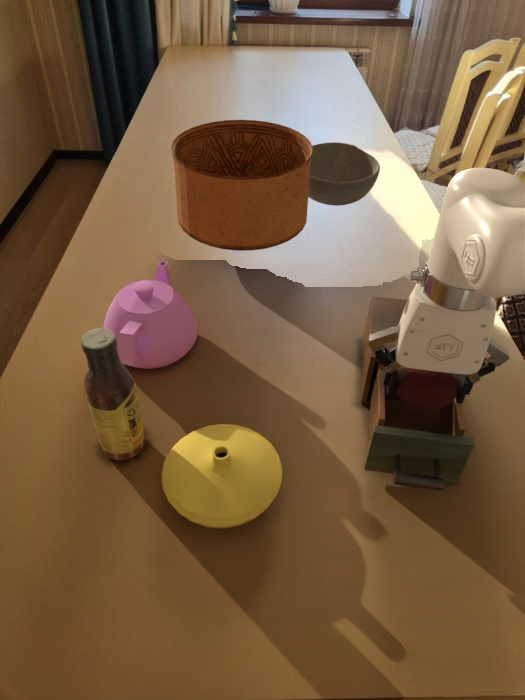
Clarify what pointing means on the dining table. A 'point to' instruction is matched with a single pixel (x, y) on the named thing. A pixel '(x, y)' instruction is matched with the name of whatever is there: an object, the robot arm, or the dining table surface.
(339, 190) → the bowl
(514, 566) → the dining table surface
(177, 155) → the pot
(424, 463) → the drawer
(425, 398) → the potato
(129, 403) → the sauce bottle
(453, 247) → the robot arm
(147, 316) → the teapot
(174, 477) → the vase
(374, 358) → the cabinet
